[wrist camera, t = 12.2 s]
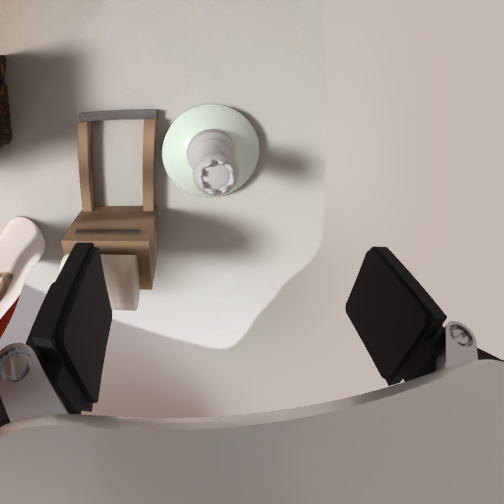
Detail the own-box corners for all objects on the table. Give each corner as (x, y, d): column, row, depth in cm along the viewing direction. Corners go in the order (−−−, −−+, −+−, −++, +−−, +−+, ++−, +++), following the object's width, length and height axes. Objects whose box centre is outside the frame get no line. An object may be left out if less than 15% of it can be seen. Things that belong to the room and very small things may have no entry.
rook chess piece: (243, 141, 26) (262, 163, 19) (220, 181, 27) (230, 218, 21) (200, 119, 24) (202, 134, 17) (178, 162, 26) (172, 193, 19)
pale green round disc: (166, 102, 23) (165, 102, 22) (263, 108, 25) (265, 109, 24) (161, 192, 28) (160, 196, 27) (250, 195, 30) (252, 199, 29)
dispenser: (79, 113, 22) (18, 137, 12) (160, 109, 23) (137, 127, 14) (90, 247, 29) (58, 320, 20) (158, 248, 31) (148, 325, 22)
